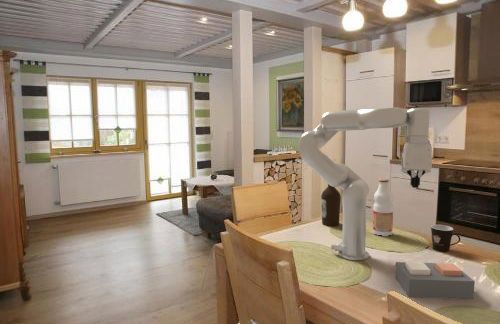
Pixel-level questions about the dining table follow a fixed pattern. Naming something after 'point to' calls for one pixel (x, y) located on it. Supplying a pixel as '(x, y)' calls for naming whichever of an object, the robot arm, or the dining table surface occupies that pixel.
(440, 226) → the coffee mug
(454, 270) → the terracotta key
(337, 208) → the olive oil
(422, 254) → the dining table surface
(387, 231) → the fruit juice
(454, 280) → the grey button box
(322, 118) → the robot arm
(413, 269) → the cream key
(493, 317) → the dining table surface
